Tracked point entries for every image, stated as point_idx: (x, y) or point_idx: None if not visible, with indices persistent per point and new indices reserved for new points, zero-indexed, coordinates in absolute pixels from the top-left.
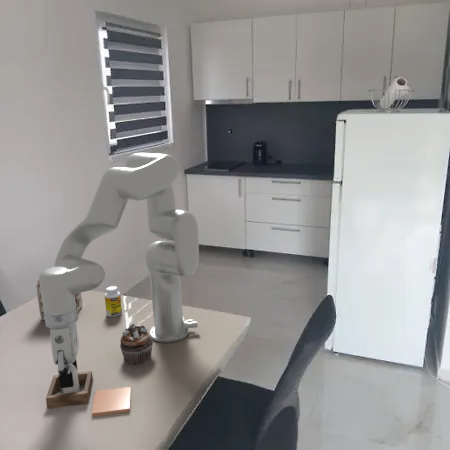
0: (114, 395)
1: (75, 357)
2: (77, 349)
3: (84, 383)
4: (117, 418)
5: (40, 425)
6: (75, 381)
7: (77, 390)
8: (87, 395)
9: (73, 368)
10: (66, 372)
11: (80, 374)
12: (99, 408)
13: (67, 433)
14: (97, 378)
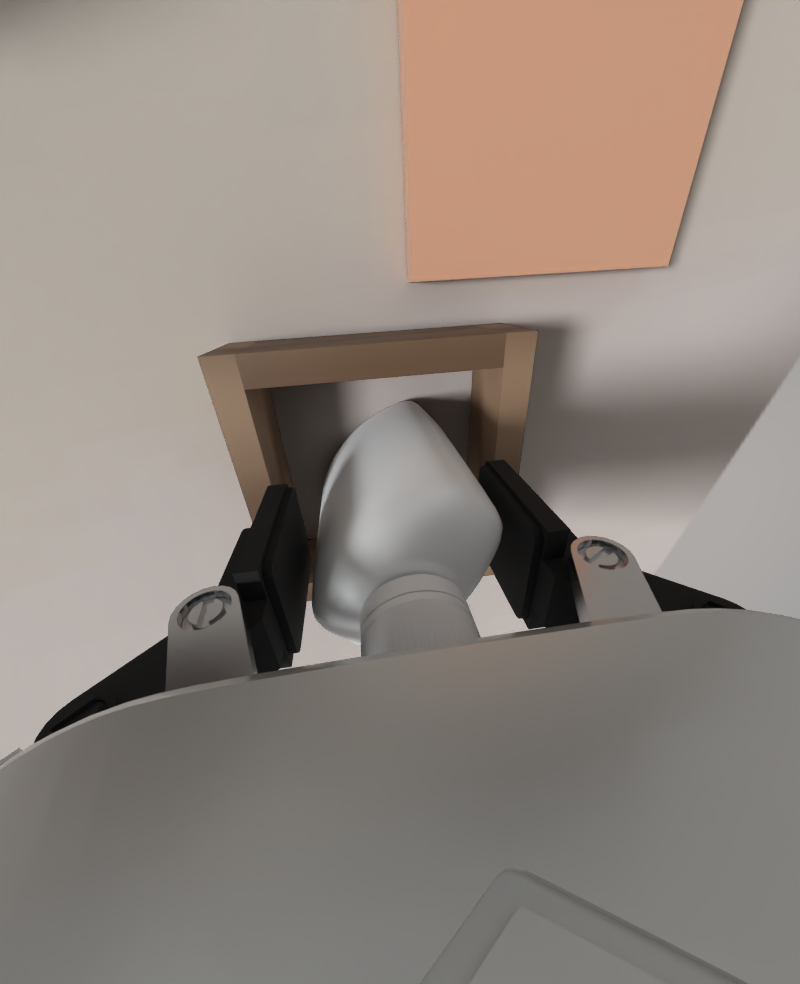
0: (519, 49)
1: (707, 653)
2: (394, 736)
3: (271, 401)
4: (767, 11)
5: (588, 523)
6: (459, 458)
7: (433, 422)
8: (526, 329)
9: (455, 534)
10: (688, 591)
11: (261, 447)
12: (641, 205)
13: (706, 391)
14: (193, 310)
